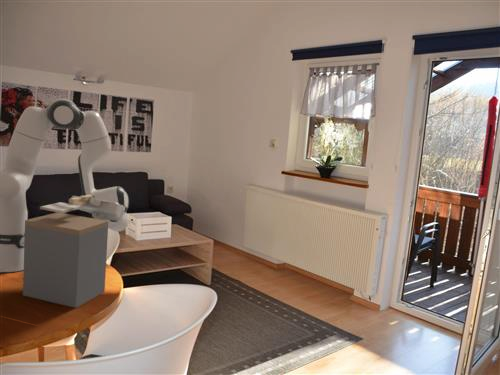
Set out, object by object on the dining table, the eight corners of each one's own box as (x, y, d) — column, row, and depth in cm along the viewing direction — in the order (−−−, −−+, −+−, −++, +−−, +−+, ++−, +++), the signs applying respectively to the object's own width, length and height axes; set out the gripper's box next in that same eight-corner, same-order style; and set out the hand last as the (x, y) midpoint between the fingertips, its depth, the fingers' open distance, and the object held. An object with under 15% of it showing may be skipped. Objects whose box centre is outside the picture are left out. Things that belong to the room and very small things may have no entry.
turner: (81, 199, 174) (81, 193, 173) (102, 203, 171) (102, 196, 171) (39, 209, 153) (40, 201, 152) (62, 213, 150) (63, 205, 150)
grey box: (22, 295, 156) (24, 220, 152) (55, 280, 171) (57, 212, 167) (76, 307, 150) (79, 230, 146) (104, 291, 165) (108, 221, 162)
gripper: (83, 200, 185) (64, 186, 173) (129, 207, 180) (112, 194, 167) (78, 214, 183) (58, 202, 170) (123, 222, 177) (106, 210, 165)
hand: (85, 198), depth 169 cm, fingers closed on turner, 2 cm apart
